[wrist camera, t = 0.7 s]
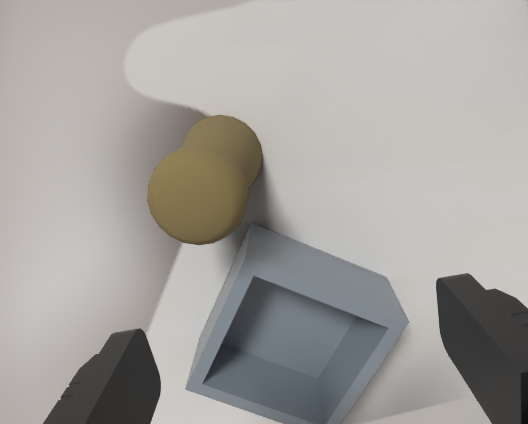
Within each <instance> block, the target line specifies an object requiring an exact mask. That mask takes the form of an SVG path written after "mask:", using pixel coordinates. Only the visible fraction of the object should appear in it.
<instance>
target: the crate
mask: <svg viewBox="0 0 528 424" xmlns="http://www.w3.org/2000/svg"><path fill="white" fill-rule="evenodd" d="M408 323H409V321H408V319H407V317H406V315H405V313H404V311H403V309H402V307H401V305H400V303H399V301H398V299H397V297H396V295H395V293H394V291H393V289H392V287H391V285H390V283H389V281H388V279H387V277H385V276H382V275H380V274H377V273H375V272H372V271H370V270H367V269H365V268H362V267H360V266H357V265H355V264H352V263H350V262H347V261H345V260H342V259H340V258H338V257H335V256H333V255H330V254H328V253H325V252H323V251H320V250H318V249H315V248H313V247H310V246H308V245H305V244H303V243H300V242H298V241H296V240H293V239H291V238H288V237H286V236H283V235H281V234H278V233H276V232H273V231H271V230H268V229H266V228H263V227H261V226H258V225H256V224H253V223H251V224H250V226H249V229H248V231H247V233H246V235H245V238H244V240H243V242H242V244H241V246H240V249H239V251H238V253H237V255H236V258H235V260H234V262H233V264H232V267H231V269H230V271H229V273H228V276H227V278H226V280H225V282H224V284H223V287H222V289H221V291H220V293H219V296H218V298H217V300H216V302H215V305H214V307H213V309H212V311H211V313H210V316H209V318H208V320H207V322H206V325H205V327H204V329H203V331H202V334H201V336H200V338H199V342H198V345H197V349H196V352H195V356H194V359H193V363H192V367H191V370H190V374H189V377H188V381H187V384H186V388H185V389H186V390H188V391H191V392H194V393H197V394H200V395H203V396H206V397H209V398H211V399H214V400H217V401H220V402H223V403H226V404H229V405H231V406H234V407H237V408H240V409H243V410H246V411H249V412H252V413H254V414H257V415H260V416H263V417H266V418H269V419H272V420H275V421H277V422H280V423H283V424H341V423H342V421H343V420H344V418H345V417H346V415H347V414H348V412H349V411H350V409H351V408H352V407H353V405H354V404H355V402H356V401H357V399H358V398H359V396H360V395H361V393H362V392H363V390H364V389H365V387H366V386H367V384H368V383H369V381H370V380H371V378H372V377H373V375H374V374H375V372H376V371H377V369H378V368H379V366H380V365H381V363H382V362H383V360H384V359H385V357H386V356H387V354H388V353H389V351H390V350H391V348H392V347H393V345H394V344H395V342H396V341H397V339H398V338H399V337H400V335H401V334H402V332H403V331H404V329H405V328H406V326H407V325H408Z"/></svg>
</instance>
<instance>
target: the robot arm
mask: <svg viewBox="0 0 528 424" xmlns="http://www.w3.org/2000/svg"><path fill="white" fill-rule="evenodd" d="M436 291H437V303H438V315H439V327H440V334H441V338H442V341H443V344H444V347H445V349H446V351H447V353H448V355H449V357H450V358H451V360H452V361H453V363H454V365H455V366H456V368H457V369H458V371H459V372H460V374H461V376H462V377H463V379H464V380H465V382H466V383H467V385H468V387H469V388H470V390H471V391H472V393H473V394H474V396H475V398H476V399H477V401H478V402H479V404H480V405H481V407H482V409H483V410H484V412H485V413H486V415H487V416H488V418H489V420H490V421H491V423H492V424H528V308H527V307H525V306H524V305H523V304H522V303H521V302H520V301H519V300H518V299H517V298H515V297H513V296H510V295H508V294H506V293H504V292H502V291H499V290H497V289H491V290H485V289H484V288H483V287H482V286H481V285H480V284H479V283H478V282H477V281H476V280H475V279H474V278H473V277H472V276H471V275H470V274H468V273H466V274H460V275H454V276H448V277H443V278H438V279H437V282H436ZM69 385H70V386H69V387H67V388H66V390H65V391H64V393H63V394H62V396H61V400H59V401H58V402H57V404H56V405H55V406H54V408H53V409H52V411H51V413H50V414H49V415H48V417H47V419H46V420H45V421H44V423H43V424H150V423H151V420H152V417H153V414H154V411H155V408H156V406H157V403H158V400H159V397H160V391H161V381H160V375H159V371H158V369H157V366H156V363H155V360H154V357H153V354H152V352H151V349H150V346H149V343H148V340H147V337H146V335H145V333H144V331H143V330H142V329H134V330H128V331H123V332H116V333H113V334H112V335H111V336H110V337H109V339H108V340H107V342H106V343H105V345H104V347H103V348H102V350H101V351H100V353H99V354H96V355H94V356H93V357H92V358H91V359H90V360H89V361H88V362H87V363H85V364H84V365H83V366H82V367H81V368H80V369H79V370H78V372H77V373H76V375H75V376H74V378H73V379H72V381H71V382H70V384H69Z"/></svg>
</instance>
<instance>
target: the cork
mask: <svg viewBox="0 0 528 424" xmlns="http://www.w3.org/2000/svg"><path fill="white" fill-rule="evenodd" d="M262 158H263V156H262V150H261V144H260V142H259V140H258V138H257V136H256V134H255V132H254V131H253V130H252V129H251V128H250V127H249V126H248V125H247V124H246V123H244V122H242V121H240V120H238V119H236V118H234V117H230V116H224V115H216V116H210V117H206V118H204V119H203V120H201V121H199V122H197V123H196V124H195V125H194V126H193V127H192V128H191V129H190V130H189V131H188V132H187V134H186V137H185V139H184V142H183V144H182V146H181V148H180V149H178V150H176V151H174V152H173V153H171V154H169V155H167V156H166V157H165V158H164V159H163V160H162V161H161V162H160V163H159V164H158V165H157V166H156V168H155V169H154V171H153V174H152V176H151V178H150V181H149V184H148V199H147V201H148V204H149V208H150V211H151V215H152V216H153V218H154V219H155V221H156V222H157V224H158V225H159V227H160V228H161V229H162V230H164V231H165V232H166V233H167V234H168V235H169V236H171V237H173V238H175V239H177V240H179V241H181V242H184V243H188V244H195V245H203V244H210V243H215V242H217V241H219V240H221V239H223V238H225V237H227V236H228V235H229V234H230V233H231V232H232V231H233V230H234V229H235V228H236V227H237V226H238V225H239V224H240V222H241V220H242V218H243V217H244V215H245V213H246V208H247V201H248V188H249V187H250V186H251V184H252V183H253V182H254V181H255V179H256V177H257V175H258V173H259V171H260V169H261V164H262Z"/></svg>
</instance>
